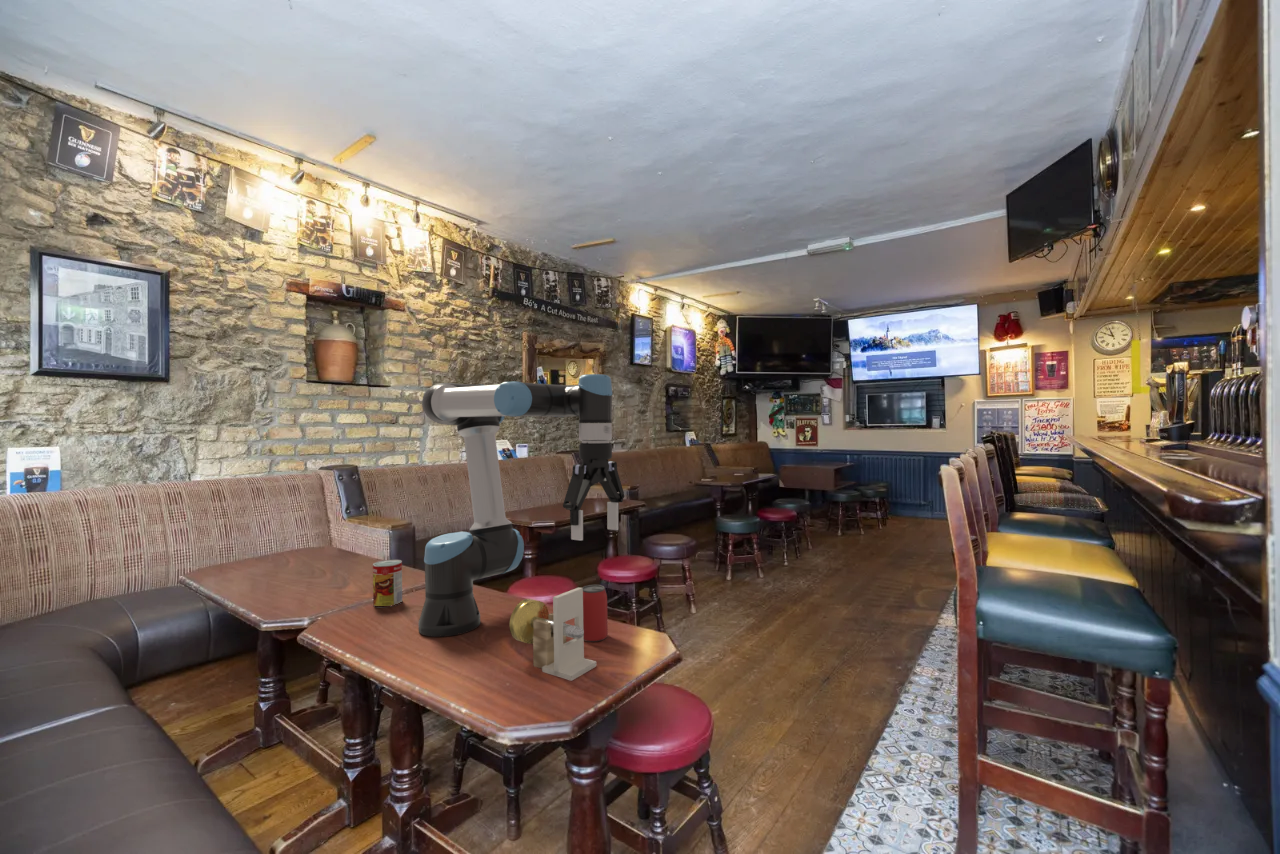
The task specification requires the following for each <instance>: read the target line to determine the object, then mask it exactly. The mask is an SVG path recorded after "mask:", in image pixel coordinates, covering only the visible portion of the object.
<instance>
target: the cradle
mask: <svg viewBox="0 0 1280 854" xmlns="http://www.w3.org/2000/svg"><path fill="white" fill-rule="evenodd" d="M548 615H549V620H553V612H552V613H549V614H548ZM533 622H534V636H533V643H532V649H533V651H532V653H533V657H532V658H533V659H532V661H533V667H535V668H539V669H541V670H542V667H543V666H545V665H547V666H548V665H549V664H551V663H553V662H554V633H551V623H550V622H546V621H542V620H538V619H536V620H534V621H533ZM564 623H565V624H566V622H564ZM566 642H567V636H563V644H564V643H566Z"/></svg>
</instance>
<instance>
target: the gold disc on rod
mask: <svg viewBox="0 0 1280 854" xmlns="http://www.w3.org/2000/svg"><path fill="white" fill-rule="evenodd" d="M548 614H550V613H549V609H548V606H547V605H546V604H545V603H544V602H543V601H540V600H537V599H531V598H524V599H522V600H520V602H519V603H517V604H516V606H515V607H514V608H513V610H512V613H511V615H510V619H509V631H510V635H511V636H512V638H513V639H515V640H516V641H518V642H521V643H525V644H529V645H530V644H532V645H533V636H534V622H533V621H534V620H536V619H538V620H542V621H546V622H550V623H551V633H554V624H553V620H549V615H548ZM583 635H584V631H583V629H582V628H581V627H578V626H575V625H572V624H569V623H566V622H565V623H563V636H566V638H570V639H574V638H575V639H580V638H582V637H583Z"/></svg>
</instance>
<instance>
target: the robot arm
mask: <svg viewBox="0 0 1280 854" xmlns="http://www.w3.org/2000/svg"><path fill="white" fill-rule="evenodd" d="M612 385H613V383H612V378H611V376H609V375H607V374H601V373H600V374H599V373H595V374H594V373H591V374H582V375H580V376H579V379H578V383H577V384H571V385H570V384H564V385H563V384H550V383H549V384H547V383H532V382H521V381H503V382H502V383H499V384H481V383H480V384H479V383H478V384H477V383H476V384H474V383H471V384H470V383H458V382H457V383H454V382H441V383H437V384H434V385H432V386H431V387H429V388H428V389H427V390H426V391H425V393H424V394H423V397H422V399H421V400H422V401H421V406H422V410H423V412H424V414H425V415H426V417H428V418H429V419H430V420H431V421H432V422H434V423H437V424H441V425H446V426H449V425H450V426H456V428H457V429H456V430H457V434H458V435H459V436H460V437H462V438H463V439H464V440H463V441H464V447H465V456H466V466H467V472H468V481H469V490H470V497H471V507H472V513H473V515H472V516H473V524H472V525H471V527H469V531H468V532H467V531H455V532H449V533H445V534H441V535H439V536H436V537H433V538H431V539H430V540H428V542H426V545H425V547H424V558H423V562H424V581H425V582H424V587H425V588H424V589H425V591H424V592H425V597H424V599H425V600H424V603H423V607H422V609H421V613H420V617H419V619H418V633H419V634H420V635H423V636H426V637H434V638H439V637H440V638H441V637H443V638H444V637H452V636H458V635H462V634H465V633H468V632H470V631H474V630H475V629H477V628H478V627H479V626H480V625H481V613H480V610H479V607H478V604H477V601H476V598H475V597H474V581H476V580H480V579H484V578H488V577H493V576H497V575H504V574H506V573H508V572H511V571H513V570H515V569H517V567H519V565H520V563H521V561H522V559H523V557H524V552H525V544H524V539H523V536H522V535H521V533H520V531H518V530H517V529H515V528H514V527H513V522H512V521H510V520H509V519H508V518H507V516H506V509H505V502H504V495H503V494H504V493H503V486H502V479H501V472H500V464H499V463H500V462H499V453H498V447H497V438H496V434H497V433H498V432H499V430H500V424H502V422H503V421H504V420H505V417H554V418H567V417H579V418H578V419H579V420H578V439H579V441H581V442H580V443H579V444H578V453H579V454H578V456H579V459H580V460H582V464H573V465H572V473H571V478H570V481H569V484H568V487H567V491H566V493H565V496H564V501H563V504H562V508H563V509H566V510H567V511H569V524H570V525H571V526H570V532H571V533H570V539H571V540H572V541H573V540H574V541H581V542H582V541H584V510H583V509H582V510H581V508H582V507H583V504H584V502H585V500H586V498H587V496H588V493H589V492H590V489H591V487H592V486H594V485H595V484H597V483H599V484H600V485H601V487H602V488H603V491H604V493H605V495H606V496H607V498H608V500H609V501H607V502H606V505H607V506H606V508H607V511H606V513H607V514H606V516H607V517H606V518H607V520H606V521H607V523H606V525H607V527H606V528H607V530H609V531H610V530H611V531H619V513H620V509H619V508H620V503H623V501H624V499H625V492H624V488H623V485H622V482H621V479H620V475H619V472H618V464H617V461H611V459H612V457H613V444H612V443H611V442H610V441H611V440H612V439H613V438H612V437H613V435H612V433H613V432H612V426H613V425H612V422H613V421H612V420H613V419H612V418H613V417H612V416H613V413H612V412H613V410H612V409H613V408H612V407H613V388H612ZM609 460H610V461H609Z"/></svg>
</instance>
